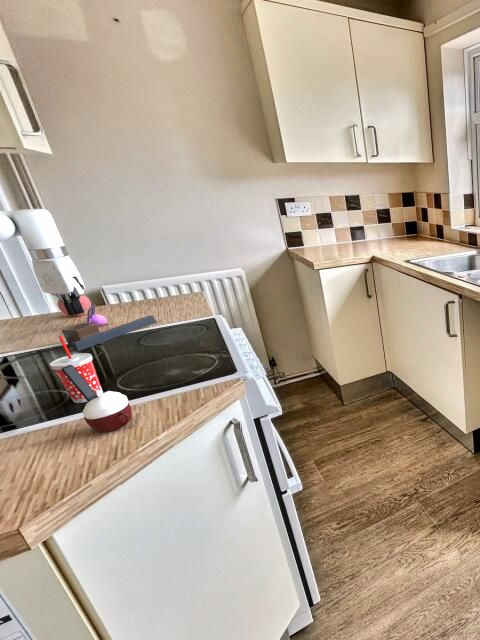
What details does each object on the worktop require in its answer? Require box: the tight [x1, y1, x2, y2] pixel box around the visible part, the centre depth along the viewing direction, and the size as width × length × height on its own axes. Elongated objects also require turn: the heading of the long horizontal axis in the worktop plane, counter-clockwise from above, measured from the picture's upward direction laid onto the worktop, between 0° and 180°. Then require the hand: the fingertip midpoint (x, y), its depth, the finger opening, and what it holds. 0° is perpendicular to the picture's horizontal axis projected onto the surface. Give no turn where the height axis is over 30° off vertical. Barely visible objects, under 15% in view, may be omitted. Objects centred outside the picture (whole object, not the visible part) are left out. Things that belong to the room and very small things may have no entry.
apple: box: [57, 294, 92, 318], centre depth 137 cm, size 7×7×8 cm
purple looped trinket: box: [85, 302, 111, 326], centre depth 128 cm, size 7×5×9 cm
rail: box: [70, 315, 157, 352], centre depth 120 cm, size 2×22×2 cm, turn 171°
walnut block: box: [61, 323, 100, 347], centre depth 115 cm, size 5×5×5 cm
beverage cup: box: [48, 335, 104, 404], centre depth 85 cm, size 6×6×14 cm
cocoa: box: [61, 365, 133, 433], centre depth 76 cm, size 10×6×12 cm, turn 53°
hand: (76, 313), depth 128 cm, fingers closed
